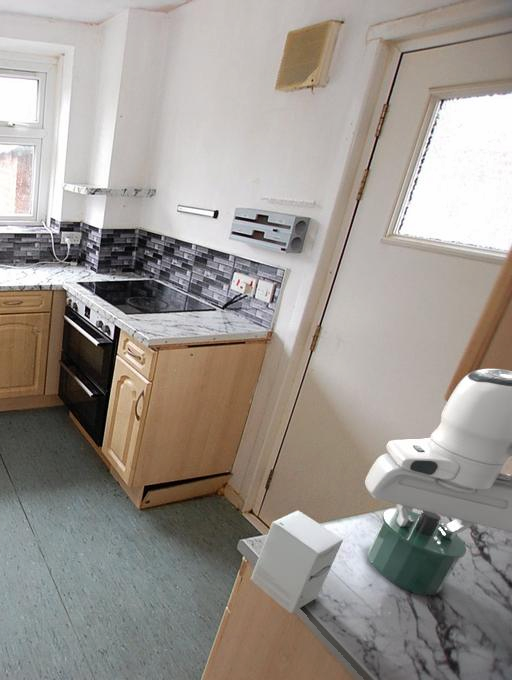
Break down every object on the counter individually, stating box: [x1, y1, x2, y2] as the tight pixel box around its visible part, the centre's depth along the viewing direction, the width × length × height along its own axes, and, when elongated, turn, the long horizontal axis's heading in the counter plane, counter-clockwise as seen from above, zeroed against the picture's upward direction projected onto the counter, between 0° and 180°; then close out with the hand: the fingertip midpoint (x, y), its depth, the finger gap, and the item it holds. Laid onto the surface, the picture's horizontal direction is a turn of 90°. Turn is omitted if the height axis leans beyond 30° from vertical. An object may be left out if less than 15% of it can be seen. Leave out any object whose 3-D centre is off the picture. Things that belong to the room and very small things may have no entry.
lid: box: [382, 508, 467, 559], centre depth 78 cm, size 11×11×5 cm
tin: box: [367, 521, 460, 596], centre depth 81 cm, size 10×10×8 cm
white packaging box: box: [250, 510, 344, 615], centre depth 74 cm, size 7×7×13 cm
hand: (423, 530), depth 79 cm, fingers open, 5 cm apart
